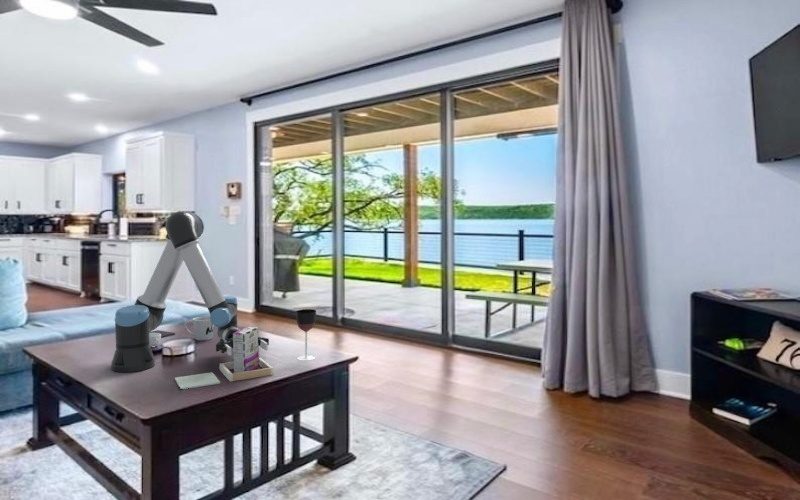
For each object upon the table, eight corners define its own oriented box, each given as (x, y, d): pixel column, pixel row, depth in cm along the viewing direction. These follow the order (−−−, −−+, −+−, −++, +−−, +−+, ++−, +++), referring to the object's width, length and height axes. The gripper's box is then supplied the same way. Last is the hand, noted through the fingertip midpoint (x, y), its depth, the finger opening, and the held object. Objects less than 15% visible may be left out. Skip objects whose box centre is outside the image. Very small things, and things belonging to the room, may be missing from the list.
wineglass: (319, 356, 213) (320, 310, 212) (307, 361, 205) (307, 313, 204) (304, 354, 217) (304, 308, 215) (292, 359, 209) (292, 311, 208)
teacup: (139, 346, 227) (139, 334, 227) (156, 343, 233) (156, 332, 233) (148, 350, 221) (148, 338, 220) (166, 347, 226) (166, 335, 226)
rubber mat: (180, 389, 171) (180, 388, 171) (174, 379, 182) (174, 377, 181) (220, 383, 177) (220, 381, 177) (212, 373, 188) (212, 372, 188)
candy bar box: (247, 367, 197) (247, 326, 196) (259, 368, 196) (259, 327, 195) (232, 376, 186) (232, 332, 185) (244, 377, 185) (244, 333, 184)
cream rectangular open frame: (229, 381, 180) (229, 374, 180) (219, 369, 193) (219, 363, 193) (273, 374, 188) (273, 367, 188) (260, 363, 202) (260, 357, 202)
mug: (210, 341, 238) (210, 320, 237) (179, 340, 238) (178, 320, 237) (218, 336, 248) (218, 316, 247) (188, 335, 248) (188, 315, 248)
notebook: (136, 345, 231) (175, 335, 250) (136, 341, 231) (175, 332, 250) (118, 342, 237) (157, 333, 256) (118, 338, 237) (157, 330, 256)
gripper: (264, 342, 213) (280, 354, 195) (202, 350, 199) (214, 363, 182) (263, 325, 212) (280, 335, 194) (202, 332, 199) (214, 343, 181)
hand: (248, 349), depth 188 cm, fingers open, 13 cm apart
